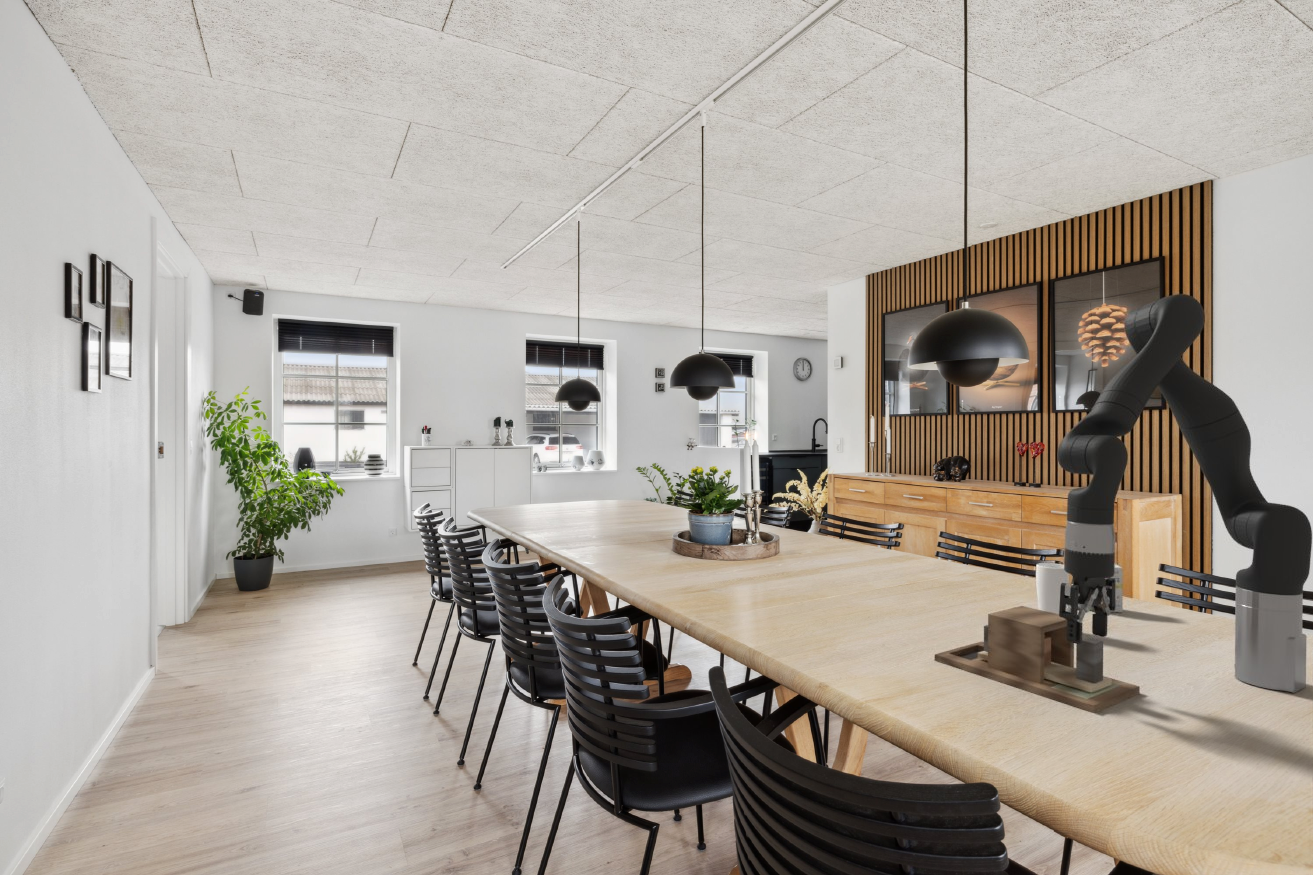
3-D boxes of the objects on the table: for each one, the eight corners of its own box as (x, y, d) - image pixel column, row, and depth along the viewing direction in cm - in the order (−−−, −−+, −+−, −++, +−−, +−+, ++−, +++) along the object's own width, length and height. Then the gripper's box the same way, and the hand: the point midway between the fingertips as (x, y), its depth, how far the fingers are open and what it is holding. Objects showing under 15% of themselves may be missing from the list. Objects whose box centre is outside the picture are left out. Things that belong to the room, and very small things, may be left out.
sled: (1111, 684, 120) (1112, 639, 120) (1091, 692, 117) (1091, 646, 117) (998, 651, 138) (998, 612, 138) (977, 657, 134) (978, 617, 134)
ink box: (1116, 608, 178) (1116, 563, 178) (1123, 613, 173) (1123, 567, 173) (1078, 605, 181) (1079, 561, 180) (1084, 610, 176) (1085, 565, 175)
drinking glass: (1060, 625, 162) (1060, 562, 162) (1074, 634, 155) (1075, 568, 155) (1030, 624, 163) (1030, 562, 162) (1043, 633, 156) (1044, 568, 156)
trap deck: (1139, 693, 121) (1140, 629, 120) (1093, 712, 112) (1094, 644, 112) (981, 646, 146) (982, 594, 146) (934, 660, 138) (934, 604, 137)
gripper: (1091, 554, 113) (1088, 651, 113) (1132, 547, 121) (1130, 638, 121) (1045, 547, 120) (1043, 639, 120) (1087, 541, 127) (1085, 627, 127)
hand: (1087, 638), depth 120 cm, fingers open, 8 cm apart
